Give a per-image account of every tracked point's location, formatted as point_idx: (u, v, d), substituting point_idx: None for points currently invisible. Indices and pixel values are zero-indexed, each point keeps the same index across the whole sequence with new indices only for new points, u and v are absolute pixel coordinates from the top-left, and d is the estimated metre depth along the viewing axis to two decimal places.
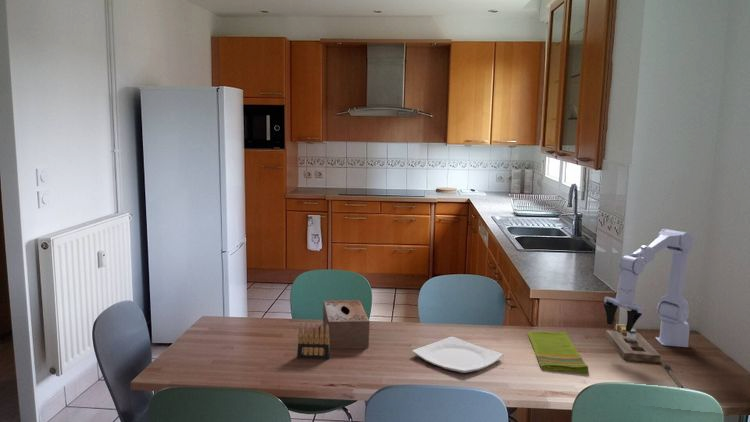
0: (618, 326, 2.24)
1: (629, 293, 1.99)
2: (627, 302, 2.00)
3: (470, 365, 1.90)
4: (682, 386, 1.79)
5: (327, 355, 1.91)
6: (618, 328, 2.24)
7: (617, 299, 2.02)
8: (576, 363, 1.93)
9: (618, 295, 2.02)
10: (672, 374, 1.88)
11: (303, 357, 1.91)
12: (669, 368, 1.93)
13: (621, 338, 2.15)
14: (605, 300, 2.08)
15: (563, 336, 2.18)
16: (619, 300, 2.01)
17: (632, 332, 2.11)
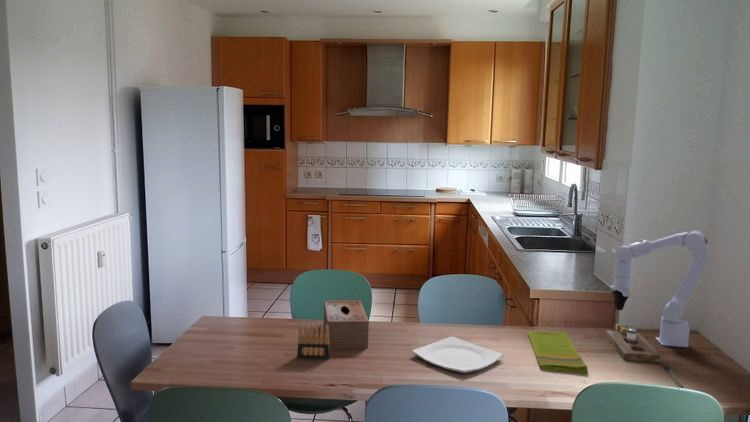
0: (618, 326, 2.24)
1: (619, 279, 2.25)
2: (618, 287, 2.26)
3: (470, 365, 1.90)
4: (682, 386, 1.79)
5: (327, 355, 1.91)
6: (618, 328, 2.24)
7: (613, 284, 2.29)
8: (575, 363, 1.93)
9: None
10: (672, 374, 1.88)
11: (303, 357, 1.91)
12: (669, 368, 1.93)
13: (621, 338, 2.15)
14: None
15: (563, 336, 2.18)
16: (613, 285, 2.28)
17: (632, 332, 2.11)
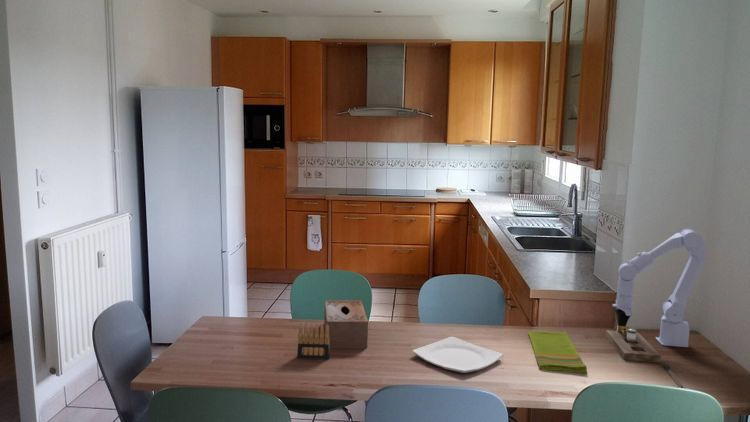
0: (619, 327, 2.22)
1: (622, 297, 2.21)
2: (621, 305, 2.21)
3: (470, 365, 1.90)
4: (682, 386, 1.80)
5: (327, 355, 1.91)
6: (619, 329, 2.22)
7: (616, 302, 2.24)
8: (575, 363, 1.93)
9: (616, 299, 2.24)
10: (672, 374, 1.89)
11: (303, 357, 1.91)
12: (669, 368, 1.94)
13: (621, 338, 2.15)
14: None
15: (564, 336, 2.18)
16: (616, 303, 2.24)
17: (632, 332, 2.11)
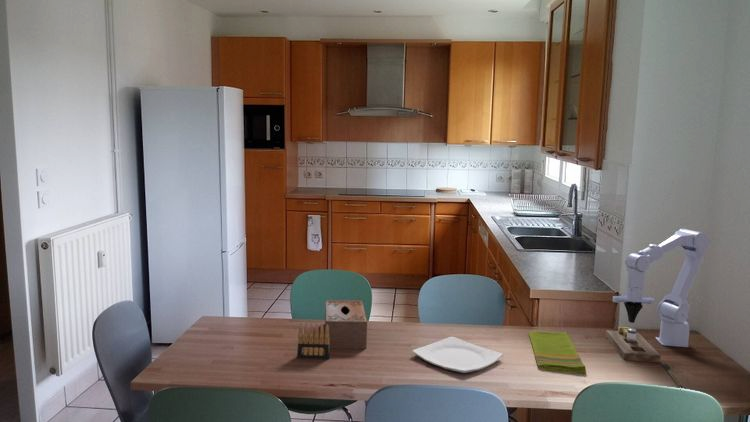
0: (620, 329, 2.21)
1: (626, 286, 2.13)
2: (625, 295, 2.14)
3: (470, 365, 1.90)
4: (681, 385, 1.80)
5: (327, 355, 1.91)
6: (620, 331, 2.21)
7: None
8: (574, 363, 1.93)
9: None
10: (671, 373, 1.89)
11: (303, 357, 1.91)
12: (668, 367, 1.94)
13: (621, 338, 2.15)
14: None
15: (564, 336, 2.18)
16: None
17: (632, 332, 2.11)
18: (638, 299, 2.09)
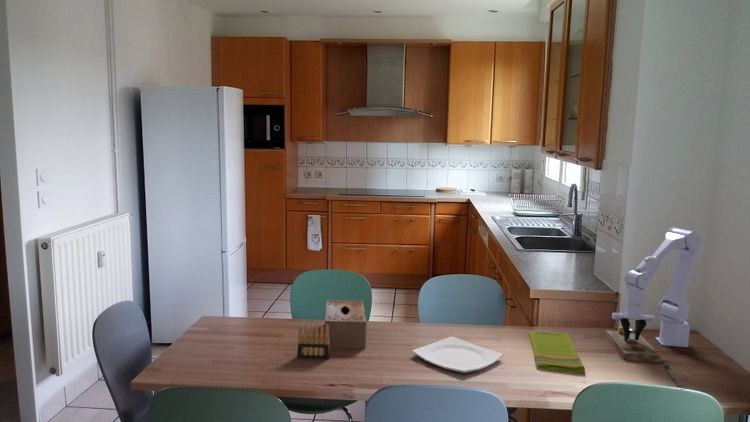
0: (620, 329, 2.21)
1: None
2: None
3: (470, 365, 1.90)
4: (681, 385, 1.80)
5: (327, 355, 1.91)
6: (620, 331, 2.21)
7: None
8: (573, 363, 1.93)
9: None
10: (671, 373, 1.89)
11: (303, 357, 1.91)
12: (668, 367, 1.94)
13: (621, 338, 2.15)
14: None
15: (564, 336, 2.18)
16: None
17: (632, 332, 2.11)
18: (637, 316, 2.08)
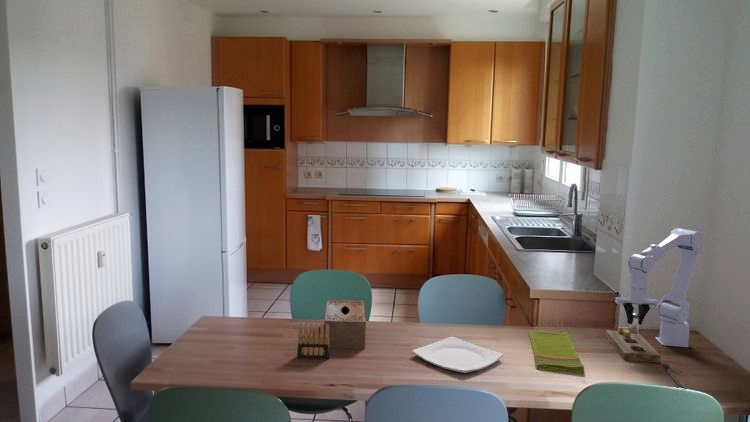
0: (620, 329, 2.21)
1: None
2: None
3: (470, 365, 1.90)
4: (681, 385, 1.80)
5: (327, 355, 1.91)
6: (620, 331, 2.21)
7: None
8: (573, 363, 1.93)
9: None
10: (671, 373, 1.89)
11: (303, 357, 1.91)
12: (668, 367, 1.94)
13: (621, 338, 2.15)
14: None
15: (564, 337, 2.18)
16: None
17: (636, 317, 2.08)
18: (641, 300, 2.06)
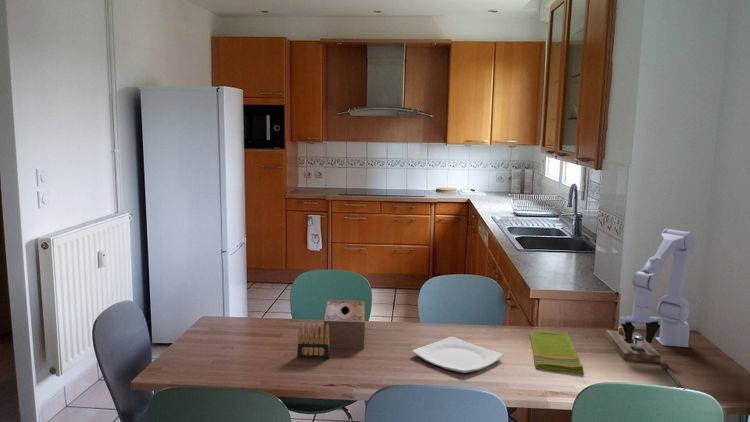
0: (620, 329, 2.21)
1: (633, 306, 2.04)
2: (632, 315, 2.04)
3: (470, 365, 1.90)
4: (680, 384, 1.80)
5: (327, 355, 1.91)
6: (620, 331, 2.21)
7: None
8: (572, 363, 1.93)
9: None
10: (670, 373, 1.89)
11: (303, 357, 1.91)
12: (667, 367, 1.94)
13: (621, 338, 2.15)
14: None
15: (565, 337, 2.17)
16: None
17: (640, 339, 2.03)
18: (647, 319, 2.01)
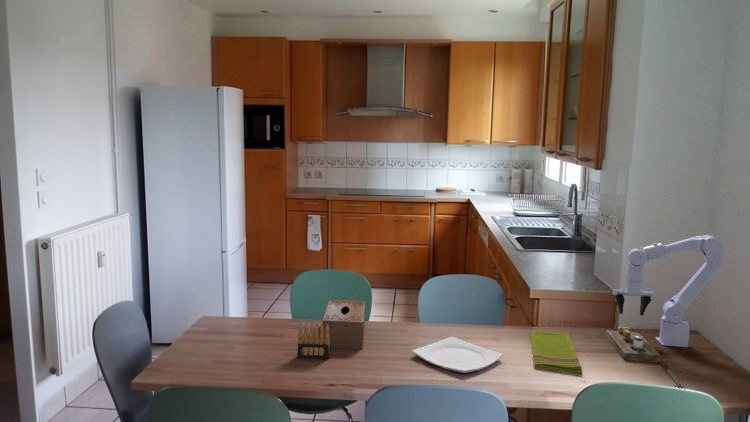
0: (620, 329, 2.21)
1: None
2: None
3: (470, 365, 1.90)
4: (680, 384, 1.81)
5: (327, 355, 1.91)
6: (620, 331, 2.21)
7: None
8: (571, 363, 1.93)
9: None
10: (670, 372, 1.90)
11: (303, 357, 1.91)
12: (667, 366, 1.95)
13: (621, 338, 2.15)
14: None
15: (565, 337, 2.17)
16: None
17: (640, 339, 2.03)
18: (637, 292, 2.19)
